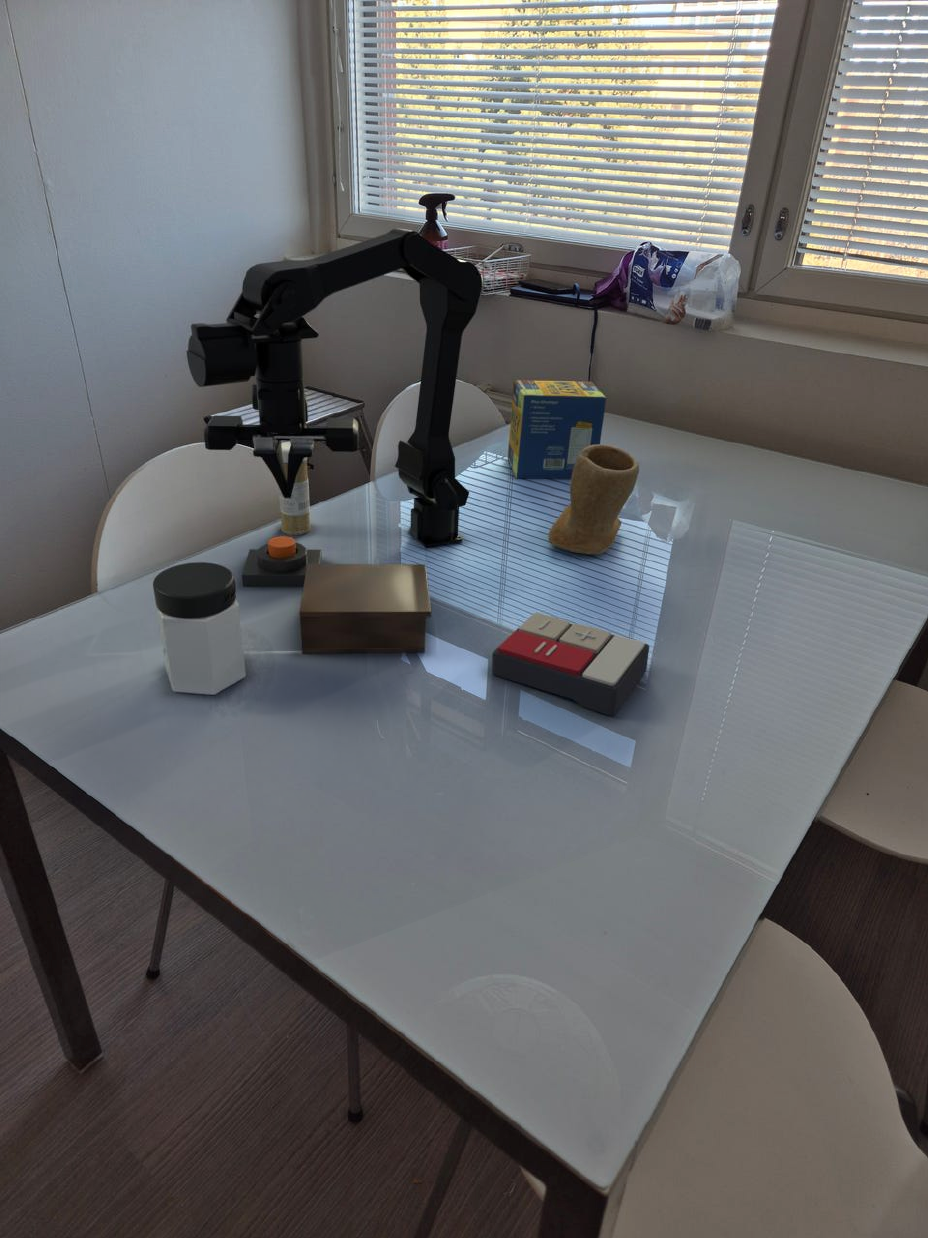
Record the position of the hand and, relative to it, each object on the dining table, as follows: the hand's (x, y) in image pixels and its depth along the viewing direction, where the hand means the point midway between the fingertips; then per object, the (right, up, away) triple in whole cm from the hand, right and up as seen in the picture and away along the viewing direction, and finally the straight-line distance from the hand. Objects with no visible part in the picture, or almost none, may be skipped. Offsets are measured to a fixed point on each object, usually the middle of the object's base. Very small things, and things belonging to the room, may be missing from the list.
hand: (287, 497), depth 108 cm
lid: (+11, -13, -8) cm, 19 cm away
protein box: (+40, +12, +48) cm, 64 cm away
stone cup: (+43, -4, +20) cm, 48 cm away
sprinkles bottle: (-3, -3, +18) cm, 19 cm away
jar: (-6, -22, -17) cm, 28 cm away
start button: (-2, -7, +4) cm, 8 cm away
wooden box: (+11, -17, -6) cm, 21 cm away
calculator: (+35, -22, -13) cm, 44 cm away
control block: (-2, -10, +5) cm, 11 cm away
